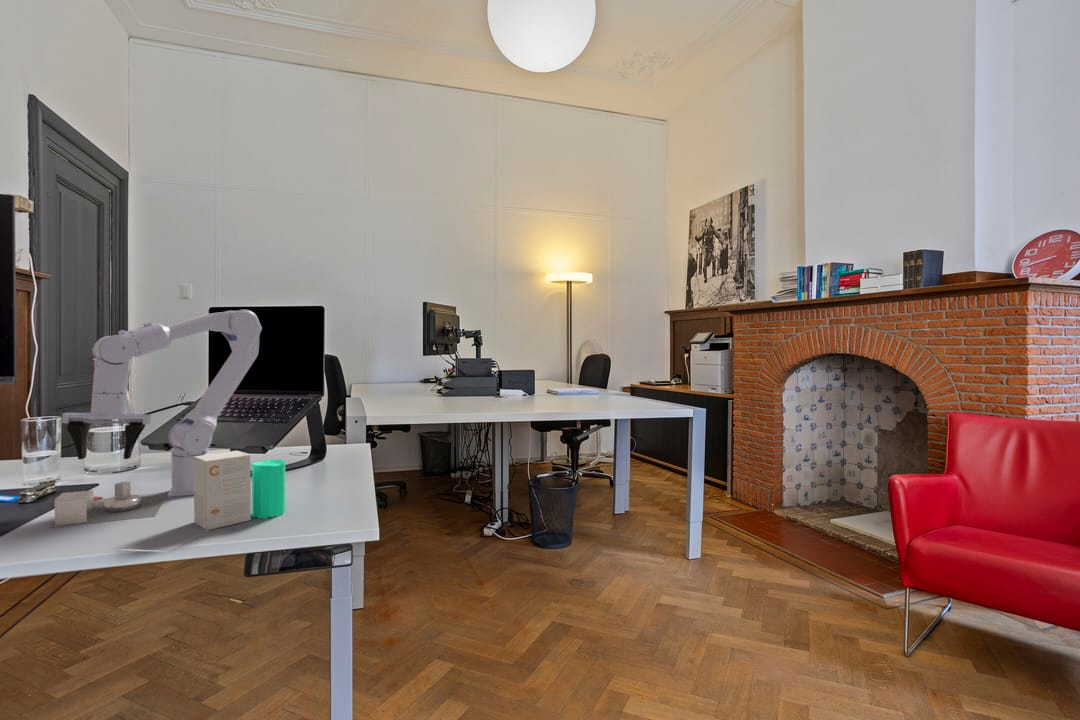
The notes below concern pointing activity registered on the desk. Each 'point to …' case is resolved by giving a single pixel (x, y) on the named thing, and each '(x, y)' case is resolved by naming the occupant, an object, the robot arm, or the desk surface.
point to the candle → (268, 488)
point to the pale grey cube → (73, 508)
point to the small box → (222, 489)
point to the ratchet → (118, 500)
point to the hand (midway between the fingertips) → (104, 458)
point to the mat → (146, 510)
